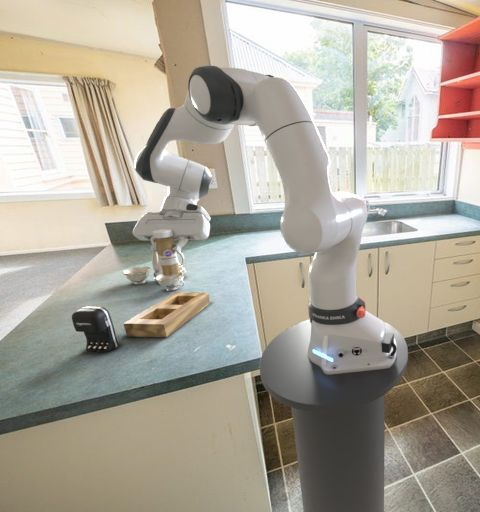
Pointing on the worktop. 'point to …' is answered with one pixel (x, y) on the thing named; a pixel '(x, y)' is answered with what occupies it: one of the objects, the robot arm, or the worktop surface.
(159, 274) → the chinaware
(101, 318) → the battery charger
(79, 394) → the worktop surface
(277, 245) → the worktop surface
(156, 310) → the socket block
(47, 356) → the worktop surface
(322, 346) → the robot arm
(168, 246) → the sprinkles bottle
